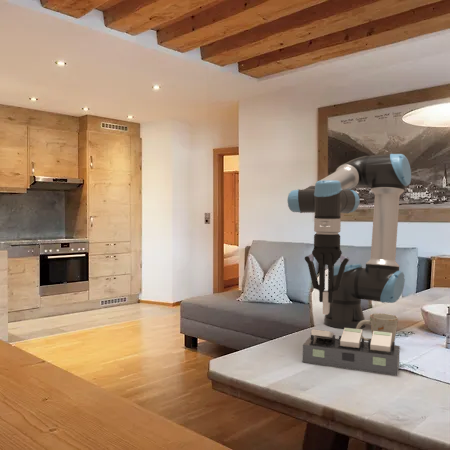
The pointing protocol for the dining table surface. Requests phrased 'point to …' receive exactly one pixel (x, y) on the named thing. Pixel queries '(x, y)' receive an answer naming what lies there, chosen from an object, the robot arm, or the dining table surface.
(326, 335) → the rocker
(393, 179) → the robot arm
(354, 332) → the rocker
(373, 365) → the console
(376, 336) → the rocker
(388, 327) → the mug
